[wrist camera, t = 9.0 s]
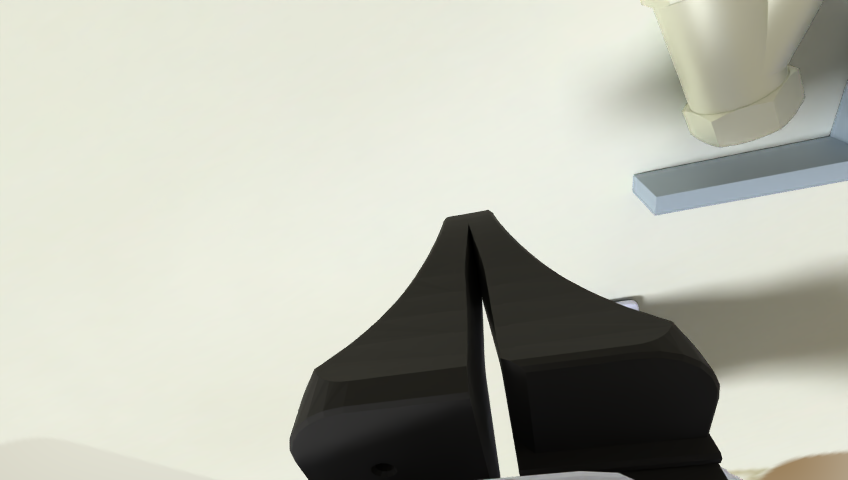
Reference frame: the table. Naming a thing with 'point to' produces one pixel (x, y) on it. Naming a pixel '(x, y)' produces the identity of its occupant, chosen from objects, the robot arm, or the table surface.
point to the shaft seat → (749, 172)
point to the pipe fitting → (736, 63)
